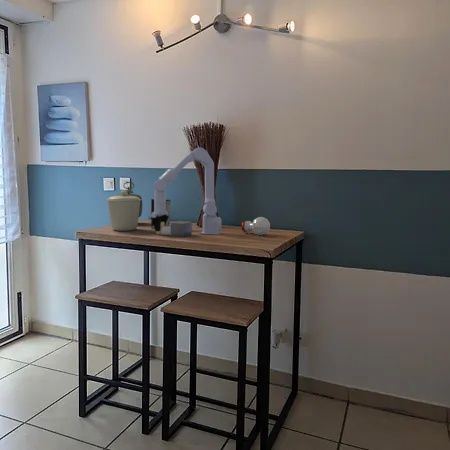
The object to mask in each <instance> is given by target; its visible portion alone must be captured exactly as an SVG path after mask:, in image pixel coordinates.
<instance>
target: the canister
mask: <svg viewBox="0 0 450 450" xmlns="http://www.w3.org/2000/svg"><path fill="white" fill-rule="evenodd" d="M120 194H121V195H122V196H116V195H113V196H109V197H107V198H106V201H107V207H108V215H109V221H110V222H109V223H110V226H111V228H112V230H114V231H117V232H130V231H131V232H132V231H134V230H136V229H137V228H138V225H139V218H140V217H139V208H140V201H141V199H140V198H139V197H135V196H126V195H127V194H128V193H127V191H126V190H121V191H120Z"/></svg>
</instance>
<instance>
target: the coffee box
mask: <svg viewBox="0 0 450 450" xmlns="http://www.w3.org/2000/svg"><path fill="white" fill-rule="evenodd" d="M150 200H151V202H150V203H151V205H150V207H151V211H150V214H152V212H154V198H151V199H150ZM171 202H172V201H171V199H166V211H168V215H166V216H169V218H168V220H167V222H166V225H169V226H171ZM150 229H155V228H154V224H153V222H152V220H151V219H150Z"/></svg>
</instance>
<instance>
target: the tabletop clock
mask: <svg viewBox="0 0 450 450" xmlns="http://www.w3.org/2000/svg"><path fill="white" fill-rule="evenodd" d="M126 184H132V185H133V186H132V187H130V186H127V187H125V185H126ZM134 187H135V184H134V182H132V181H126V182H124V183H123V188H124V189H125V191H127V195H126V196H135V197H139V198H140V199H141V201H140V208H139V218H141V217H142V214H143V199H142V195H140V194H135V193H134V191H133V190H132V189H134ZM115 196H122V195H121V193H120V194H117V195H115Z"/></svg>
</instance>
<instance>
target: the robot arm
mask: <svg viewBox="0 0 450 450" xmlns="http://www.w3.org/2000/svg"><path fill="white" fill-rule="evenodd" d="M194 161H197V162H198V163H200V164H201V165H202V166H203V167H204V203H203V206H202V211H203V215H202V231H201V232H199V234H201V235H216V236H217V235H220V234H222V233H223V232H222V217H220V216H217V211H218V208H217V206H216V200H215V162H214V160H213V158H212V157H211V156H210V154H209V152H208V150H206V149H205V148H203V147H201V146H199V147H196V148H194V149H193V150H192V151H191V152H189V153H188V154H186V155H185V156H184V157H183V158H182V159H181V160H180V161H179V162H177V164H175V166H174V167H173V168H168V169H166V170H165V172H164V173H163V174H162V175H161V176H158V179H157V180H156V181H155V182H154V185H153V188H154V190H153V191H154V195H153V196H154V198H153V199H154V212H152V214H151V213H150V214H151V215H150V216H151V217H150V221H151V220H152V222H153V224H154V228H153V229H154V231H155V232H156V231H160V225H161V221H163V222H165V225H166V222H167V220H168V218H169V216H166V215H168V211H166V200H167V199H166V198H167V195H166V189H167V186H169V185H171V183H173V182H174V181H175V179H177V178H178V173H179V172H180V171H181V170H183V169H184V167H186V166H187V165H188V164H189V163H192V162H194Z"/></svg>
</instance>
